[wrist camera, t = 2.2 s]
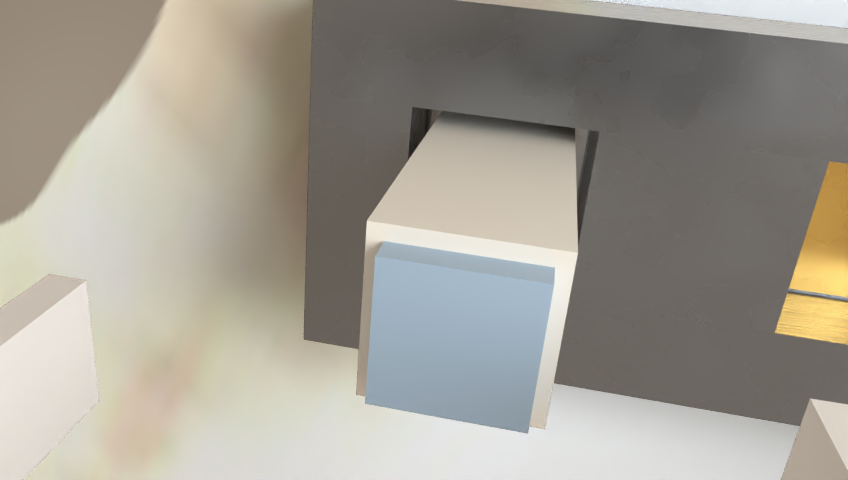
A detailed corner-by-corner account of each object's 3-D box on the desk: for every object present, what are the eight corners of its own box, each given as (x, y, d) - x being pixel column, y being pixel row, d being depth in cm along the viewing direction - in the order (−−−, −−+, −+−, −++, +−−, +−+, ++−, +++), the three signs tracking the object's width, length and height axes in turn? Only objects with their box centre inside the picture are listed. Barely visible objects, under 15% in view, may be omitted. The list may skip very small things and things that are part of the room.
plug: (575, 120, 25) (578, 269, 14) (554, 239, 27) (543, 451, 16) (446, 104, 26) (357, 235, 15) (434, 221, 28) (347, 415, 17)
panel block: (1119, 58, 23) (1239, 87, 19) (969, 387, 28) (1038, 467, 24) (354, -26, 26) (313, -16, 22) (339, 284, 31) (303, 339, 27)
